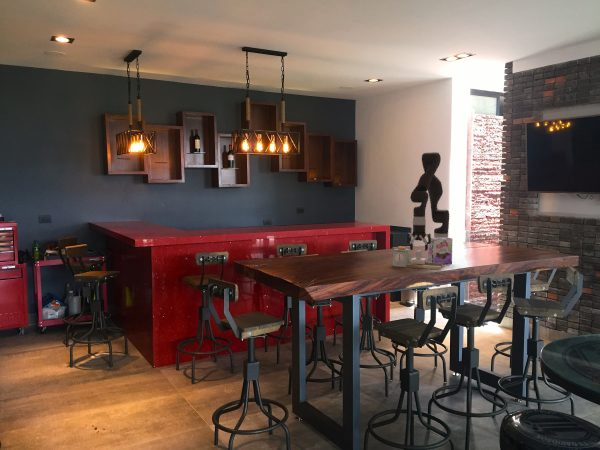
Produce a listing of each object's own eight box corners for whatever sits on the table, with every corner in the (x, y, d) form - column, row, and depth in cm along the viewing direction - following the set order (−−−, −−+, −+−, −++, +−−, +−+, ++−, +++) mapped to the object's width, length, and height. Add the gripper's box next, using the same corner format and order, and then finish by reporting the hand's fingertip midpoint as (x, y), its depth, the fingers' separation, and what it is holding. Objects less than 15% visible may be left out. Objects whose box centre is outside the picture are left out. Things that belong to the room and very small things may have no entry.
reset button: (399, 252, 316) (399, 246, 316) (406, 253, 314) (406, 246, 314) (397, 253, 312) (397, 247, 312) (404, 254, 311) (404, 247, 310)
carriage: (413, 261, 315) (413, 249, 314) (426, 262, 311) (426, 250, 310) (410, 263, 307) (410, 251, 307) (423, 264, 304) (423, 251, 303)
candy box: (432, 264, 317) (432, 238, 316) (427, 263, 323) (428, 237, 321) (452, 263, 320) (452, 238, 318) (447, 262, 325) (448, 237, 324)
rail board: (409, 264, 317) (410, 259, 317) (443, 267, 308) (443, 262, 307) (405, 267, 308) (405, 262, 308) (439, 269, 299) (440, 264, 298)
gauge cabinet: (397, 263, 320) (397, 248, 320) (409, 264, 317) (410, 248, 316) (392, 266, 311) (393, 250, 310) (405, 267, 307) (405, 250, 307)
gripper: (432, 223, 307) (431, 250, 309) (409, 223, 314) (408, 248, 315) (429, 224, 301) (429, 251, 302) (406, 224, 307) (405, 250, 309)
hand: (418, 250), depth 309 cm, fingers open, 8 cm apart
